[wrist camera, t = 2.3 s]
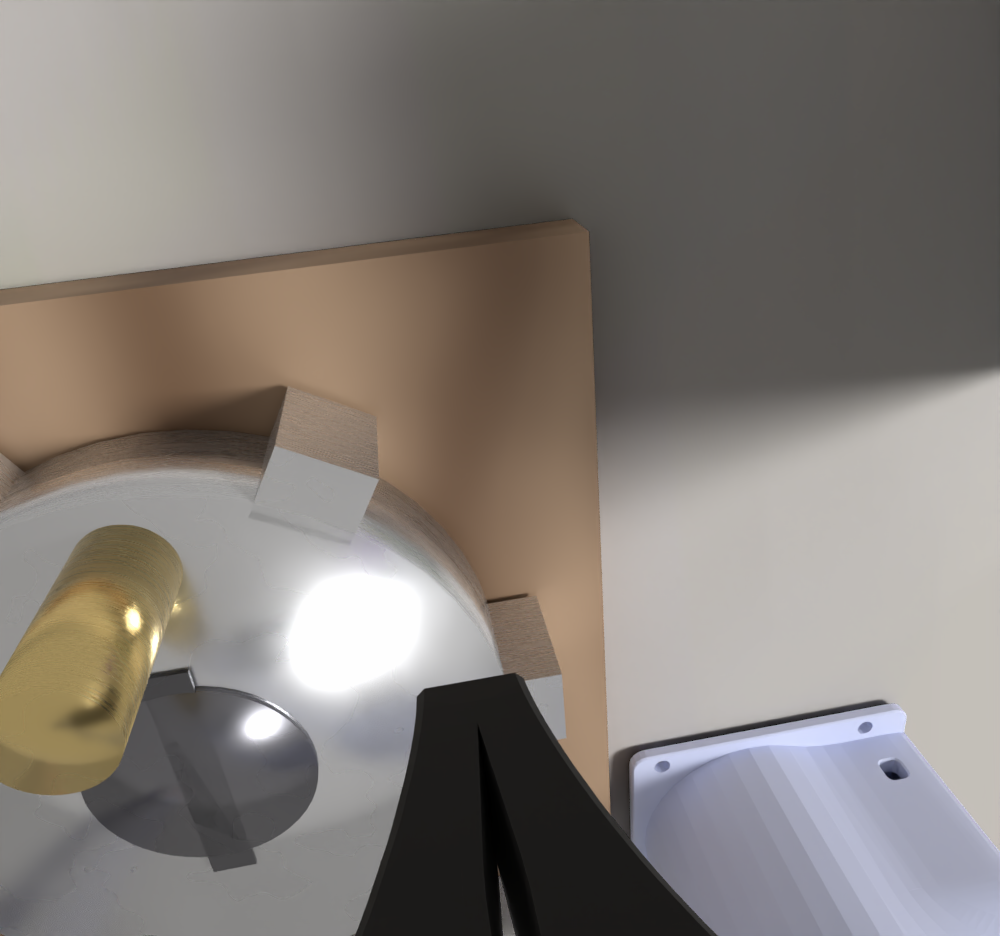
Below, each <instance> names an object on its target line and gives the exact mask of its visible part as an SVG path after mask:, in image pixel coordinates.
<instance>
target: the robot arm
mask: <svg viewBox="0 0 1000 936" xmlns="http://www.w3.org/2000/svg"><path fill="white" fill-rule="evenodd" d="M905 723H906V714H905V712H904V711H903V710H902V709H901V707H900V706H899V705H897V704H885V705H880V706H874V707H869V708H864V709H858V710H853V711H848V712H843V713H837V714H832V715H827V716H822V717H816V718H811V719H806V720H800V721H795V722H790V723H785V724H779V725H774V726H769V727H763V728H758V729H753V730H748V731H742V732H737V733H732V734H727V735H721V736H716V737H711V738H705V739H700V740H695V741H690V742H684V743H679V744H674V745H668V746H663V747H658V748H653V749H647V750H643V751H640V752H638V753H636V754H635V755H634V756H633V757H632V758H631V759H630V763H629V774H630V824H631V840H630V838H629V837H628V836H627V835H626V834H625V832H624V831H623V830H622V829H621V827H620V826H619V825H618V824H617V823H616V821H615V820H614V819H613V817H612V816H611V815H610V814H609V812H608V811H607V810H606V808H605V807H604V806H603V805H602V803H601V802H600V801H599V799H598V798H597V796H596V795H595V794H594V792H593V791H592V789H591V788H590V787H589V785H588V784H587V783H586V781H585V780H584V778H583V777H582V776H581V774H580V773H579V772H578V770H577V769H576V767H575V766H574V765H573V763H572V762H571V760H570V759H569V757H568V756H567V754H566V753H565V751H564V750H563V748H562V747H561V745H560V744H559V742H558V740H557V739H556V737H555V736H554V734H553V732H552V731H551V729H550V728H549V726H548V724H547V723H546V721H545V719H544V718H543V716H542V714H541V712H540V711H539V709H538V707H537V705H536V703H535V701H534V699H533V697H532V695H531V693H530V691H529V689H528V687H527V685H526V683H525V680H524V678H523V677H521V676H520V675H518V674H516V673H510V674H504V675H498V676H493V677H487V678H481V679H476V680H470V681H465V682H459V683H453V684H448V685H442V686H436V687H431V688H425V689H423V690H422V692H421V693H420V694H419V695H418V696H417V702H416V718H415V726H414V733H413V740H412V745H411V751H410V756H409V760H408V765H407V770H406V775H405V779H404V783H403V787H402V791H401V794H400V798H399V802H398V806H397V809H396V813H395V817H394V821H393V825H392V828H391V832H390V835H389V838H388V842H387V845H386V848H385V851H384V854H383V857H382V860H381V863H380V866H379V869H378V872H377V875H376V878H375V881H374V884H373V887H372V890H371V893H370V896H369V899H368V902H367V905H366V908H365V910H364V913H363V916H362V918H361V921H360V924H359V926H358V929H357V932H356V934H355V936H503V931H502V917H501V904H500V891H499V878H498V869H499V873H500V877H501V881H502V885H503V888H504V892H505V896H506V900H507V904H508V908H509V912H510V915H511V919H512V923H513V927H514V931H515V935H516V936H1000V851H999V850H998V849H997V848H996V846H995V845H994V844H993V843H992V841H991V840H990V839H989V838H988V836H987V835H986V834H985V833H984V831H983V830H982V829H981V828H980V826H979V825H978V824H977V823H976V821H975V820H974V819H973V818H972V816H971V815H970V814H969V813H968V811H967V810H966V809H965V808H964V806H963V805H962V804H961V803H960V801H959V800H958V799H957V798H956V796H955V795H954V794H953V793H952V791H951V790H950V789H949V788H948V786H947V785H946V784H945V783H944V782H943V780H942V779H941V778H940V777H939V775H938V774H937V773H936V772H935V770H934V769H933V768H932V767H931V765H930V764H929V763H928V762H927V760H926V759H925V758H924V757H923V755H922V754H921V753H920V752H919V750H918V749H917V748H916V747H915V745H914V744H913V743H912V742H911V740H910V739H909V738H908V737H907V735H906V734H905V733H904V728H905ZM661 761H662V762H661ZM658 762H660V763H658Z"/></svg>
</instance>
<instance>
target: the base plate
mask: <svg viewBox="0 0 1000 936" xmlns="http://www.w3.org/2000/svg"><path fill="white" fill-rule="evenodd" d="M288 386H290V387H293V388H296V389H298V390H301V391H304V392H307V393H310V394H313V395H316V396H319V397H321V398H324V399H327V400H330V401H333V402H336V403H339V404H341V405H344V406H347V407H350V408H353V409H356V410H359V411H362V412H364V413H367V414H370V415H373V416H376V420H377V443H378V466H379V477H380V478H381V479H383V480H385V481H387V482H388V483H390V484H391V485H393V486H394V487H395V488H397V489H398V490H400V491H401V492H402V493H404V494H405V495H407V496H408V497H409V498H411V499H412V500H414V501H415V502H416V503H418V504H419V505H420V506H421V507H422V508H423V509H424V510H425V511H426V512H427V513H428V514H429V515H430V516H431V517H433V518H434V519H435V520H436V521H437V522H438V523H439V524H440V525H441V526H442V527H443V528H444V529H445V531H446V532H447V533H448V534H449V536H450V537H451V538H452V539H453V541H454V542H455V543H456V544H457V546H458V547H459V548H460V549H461V551H462V552H463V554H464V555H465V557H466V559H467V561H468V562H469V564H470V566H471V567H472V569H473V571H474V573H475V574H476V576H477V578H478V580H479V582H480V585H481V588H482V590H483V593H484V596H485V598H486V601H487V603H488V604H489V603H495V602H501V601H507V600H513V599H519V598H525V597H531V596H537V599H538V602H539V605H540V608H541V612H542V615H543V618H544V621H545V624H546V627H547V630H548V633H549V636H550V639H551V642H552V645H553V648H554V652H555V655H556V658H557V661H558V664H559V667H560V670H561V673H562V683H563V697H564V711H565V726H566V738H564V739H559V740H558V742H559V744H560V745H561V747H562V748H563V750H564V751H565V753H566V754H567V756H568V757H569V759H570V760H571V762H572V763H573V765H574V766H575V767H576V769H577V770H578V772H579V773H580V774H581V776H582V777H583V778H584V780H585V781H586V783H587V784H588V785H589V787H590V788H591V789H592V791H593V792H594V794H595V795H596V796H597V798H598V799H599V801H600V802H601V803H602V805H603V806H604V807H605V808H606V810H607V811H608V812H609V814H610V815H611V812H610V785H609V758H608V731H607V704H606V677H605V650H604V623H603V596H602V569H601V542H600V515H599V487H598V460H597V433H596V406H595V379H594V352H593V325H592V298H591V271H590V244H589V231H588V230H586V229H585V228H584V227H582V226H581V225H580V224H579V223H577V222H576V221H575V220H573V219H567V220H559V221H551V222H543V223H534V224H526V225H518V226H510V227H502V228H494V229H486V230H478V231H470V232H462V233H454V234H446V235H438V236H430V237H422V238H414V239H406V240H398V241H389V242H381V243H373V244H365V245H357V246H349V247H341V248H333V249H325V250H317V251H309V252H301V253H293V254H285V255H277V256H269V257H261V258H253V259H244V260H236V261H228V262H220V263H212V264H204V265H196V266H188V267H180V268H172V269H164V270H156V271H148V272H140V273H132V274H124V275H116V276H107V277H99V278H91V279H83V280H75V281H67V282H59V283H51V284H43V285H35V286H27V287H19V288H11V289H3V290H0V453H1V454H2V455H4V456H5V457H6V458H7V459H9V460H10V461H11V462H12V463H14V464H15V465H16V466H17V467H18V468H20V469H21V470H22V471H23V472H26V471H28V470H30V469H32V468H34V467H36V466H38V465H40V464H42V463H44V462H46V461H48V460H50V459H52V458H54V457H56V456H59V455H61V454H64V453H67V452H70V451H73V450H76V449H79V448H82V447H85V446H88V445H91V444H94V443H97V442H101V441H106V440H111V439H116V438H121V437H126V436H131V435H136V434H140V433H151V432H163V431H175V430H216V431H234V432H241V433H248V434H255V435H262V436H269V437H270V434H271V431H272V428H273V426H274V423H275V420H276V418H277V415H278V412H279V409H280V407H281V404H282V401H283V398H284V396H285V393H286V390H287V387H288ZM498 876H500V873H499V869H498ZM0 936H4V935H2V934H0Z"/></svg>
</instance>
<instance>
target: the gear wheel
mask: <svg viewBox="0 0 1000 936" xmlns="http://www.w3.org/2000/svg"><path fill="white" fill-rule="evenodd" d="M510 673H516V674H518V675H520V676H521V677H523V678H524V680H525V683H526V685H527V687H528V689H529V691H530V693H531V695H532V697H533V699H534V701H535V703H536V705H537V707H538V709H539V711H540V712H541V714H542V716H543V718H544V719H545V721H546V723H547V724H548V726H549V728H550V729H551V731H552V732H553V734H554V736H555V737H556V739H557V740H559V739H564V738H566V726H565V711H564V697H563V683H562V673H561V670H560V667H559V664H558V661H557V658H556V655H555V652H554V648H553V645H552V642H551V639H550V636H549V633H548V630H547V627H546V624H545V621H544V618H543V615H542V612H541V608H540V605H539V602H538V599H537V596H531V597H525V598H519V599H513V600H507V601H501V602H495V603H489V604H488V603H487V601H486V598H485V596H484V593H483V590H482V588H481V585H480V582H479V580H478V578H477V576H476V574H475V573H474V571H473V569H472V567H471V566H470V564H469V562H468V561H467V559H466V557H465V555H464V554H463V552H462V551H461V549H460V548H459V547H458V546H457V544H456V543H455V542H454V541H453V539H452V538H451V537H450V536H449V534H448V533H447V532H446V531H445V529H444V528H443V527H442V526H441V525H440V524H439V523H438V522H437V521H436V520H435V519H434V518H433V517H431V516H430V515H429V514H428V513H427V512H426V511H425V510H424V509H423V508H422V507H421V506H420V505H419V504H418V503H416V502H415V501H414V500H412V499H411V498H409V497H408V496H407V495H405V494H404V493H402V492H401V491H400V490H398V489H397V488H395V487H394V486H393V485H391V484H390V483H388V482H387V481H385V480H383V479H381V478H380V477H379V466H378V443H377V420H376V416H373V415H370V414H367V413H364V412H362V411H359V410H356V409H353V408H350V407H347V406H344V405H341V404H339V403H336V402H333V401H330V400H327V399H324V398H321V397H319V396H316V395H313V394H310V393H307V392H304V391H301V390H298V389H296V388H293V387H290V386H288V387H287V390H286V393H285V396H284V398H283V401H282V404H281V407H280V409H279V412H278V415H277V418H276V420H275V423H274V426H273V428H272V431H271V434H270V437H269V436H262V435H255V434H248V433H241V432H234V431H216V430H175V431H163V432H151V433H140V434H136V435H131V436H126V437H121V438H116V439H111V440H106V441H101V442H97V443H94V444H91V445H88V446H85V447H82V448H79V449H76V450H73V451H70V452H67V453H64V454H61V455H59V456H56V457H54V458H52V459H50V460H48V461H46V462H44V463H42V464H40V465H38V466H36V467H34V468H32V469H30V470H28V471H26V472H23V471H22V470H21V469H20V468H18V467H17V466H16V465H15V464H14V463H12V462H11V461H10V460H9V459H7V458H6V457H5V456H4V455H2V454H1V453H0V934H2V935H4V936H351V935H353V934H355V933H356V932H357V929H358V926H359V924H360V921H361V918H362V916H363V913H364V910H365V908H366V905H367V902H368V899H369V896H370V893H371V890H372V887H373V884H374V881H375V878H376V875H377V872H378V869H379V866H380V863H381V860H382V857H383V854H384V851H385V848H386V845H387V842H388V838H389V835H390V832H391V828H392V825H393V821H394V817H395V813H396V809H397V806H398V802H399V798H400V794H401V791H402V787H403V783H404V779H405V775H406V770H407V765H408V760H409V756H410V751H411V745H412V740H413V733H414V726H415V718H416V702H417V696H418V695H419V694H420V693H421V692H422V690H423V689H425V688H431V687H436V686H442V685H448V684H453V683H459V682H465V681H470V680H476V679H481V678H487V677H493V676H498V675H504V674H510Z"/></svg>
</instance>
